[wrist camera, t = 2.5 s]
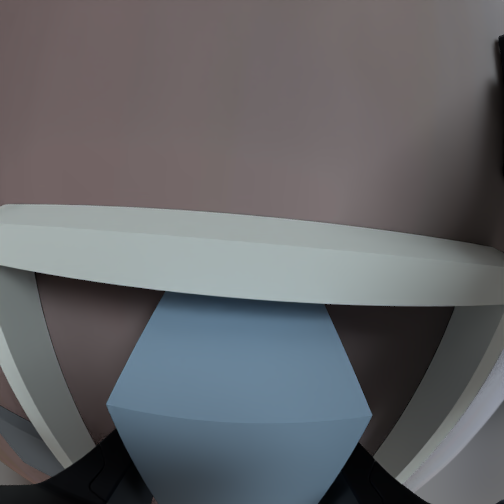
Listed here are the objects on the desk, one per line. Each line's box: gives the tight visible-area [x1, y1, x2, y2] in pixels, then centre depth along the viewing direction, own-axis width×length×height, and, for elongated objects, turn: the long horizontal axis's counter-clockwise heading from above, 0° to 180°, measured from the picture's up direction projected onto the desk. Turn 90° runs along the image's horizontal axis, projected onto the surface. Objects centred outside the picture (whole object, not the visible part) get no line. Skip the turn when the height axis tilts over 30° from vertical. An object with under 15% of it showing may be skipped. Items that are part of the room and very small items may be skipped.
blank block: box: [106, 291, 372, 504], centre depth 8 cm, size 4×8×5 cm, turn 177°
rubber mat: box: [0, 406, 65, 477], centre depth 13 cm, size 11×8×1 cm
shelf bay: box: [0, 204, 504, 484], centre depth 9 cm, size 18×14×2 cm
